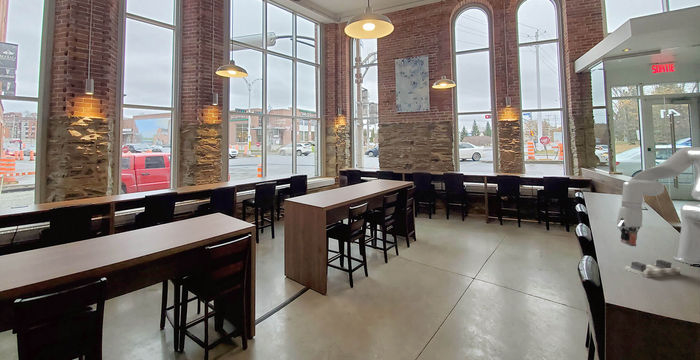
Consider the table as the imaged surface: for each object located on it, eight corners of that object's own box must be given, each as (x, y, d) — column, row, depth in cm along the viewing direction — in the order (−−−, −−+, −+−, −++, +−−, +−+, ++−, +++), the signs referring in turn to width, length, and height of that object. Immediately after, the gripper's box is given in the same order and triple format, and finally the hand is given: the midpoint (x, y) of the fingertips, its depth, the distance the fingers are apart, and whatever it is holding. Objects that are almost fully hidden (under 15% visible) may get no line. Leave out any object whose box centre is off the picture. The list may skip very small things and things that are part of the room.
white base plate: (656, 266, 144) (658, 258, 143) (680, 274, 135) (681, 265, 135) (624, 269, 141) (625, 260, 140) (646, 277, 132) (647, 268, 131)
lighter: (638, 246, 143) (640, 227, 142) (630, 246, 144) (632, 227, 143) (626, 241, 151) (627, 223, 150) (618, 241, 152) (620, 222, 151)
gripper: (636, 202, 150) (633, 236, 152) (610, 204, 147) (607, 238, 149) (653, 205, 143) (650, 240, 145) (626, 207, 140) (623, 243, 142)
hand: (628, 239), depth 147 cm, fingers closed on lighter, 4 cm apart
